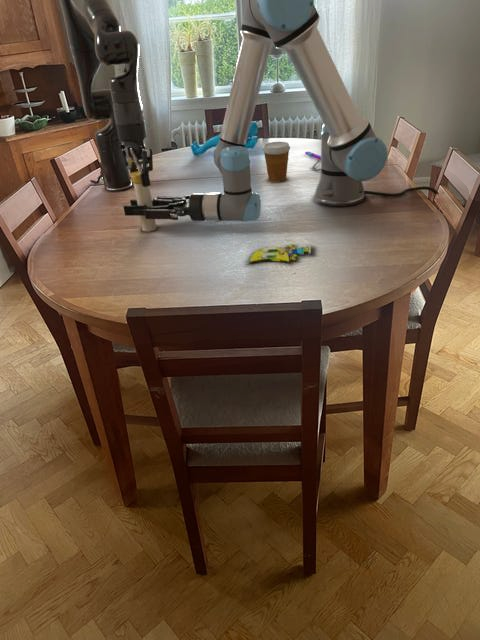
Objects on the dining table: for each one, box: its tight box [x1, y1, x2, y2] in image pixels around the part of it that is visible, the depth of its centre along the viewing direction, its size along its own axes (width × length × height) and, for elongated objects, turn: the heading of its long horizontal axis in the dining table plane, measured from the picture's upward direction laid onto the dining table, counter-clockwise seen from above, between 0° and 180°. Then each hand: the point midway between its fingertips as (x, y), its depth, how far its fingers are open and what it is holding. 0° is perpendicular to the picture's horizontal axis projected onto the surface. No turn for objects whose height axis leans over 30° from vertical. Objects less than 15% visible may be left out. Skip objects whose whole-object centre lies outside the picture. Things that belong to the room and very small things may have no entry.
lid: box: [130, 170, 142, 184], centre depth 133 cm, size 5×5×2 cm
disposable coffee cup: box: [262, 141, 291, 183], centre depth 169 cm, size 10×10×12 cm
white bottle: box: [133, 183, 157, 233], centre depth 138 cm, size 4×4×16 cm
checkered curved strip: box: [304, 151, 321, 171], centre depth 185 cm, size 24×2×20 cm
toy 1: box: [190, 121, 260, 157], centre depth 206 cm, size 17×11×30 cm
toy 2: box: [248, 244, 312, 265], centre depth 120 cm, size 10×1×15 cm
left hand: (141, 184), depth 135 cm, fingers closed on lid, 5 cm apart
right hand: (128, 207), depth 139 cm, fingers closed on white bottle, 4 cm apart
